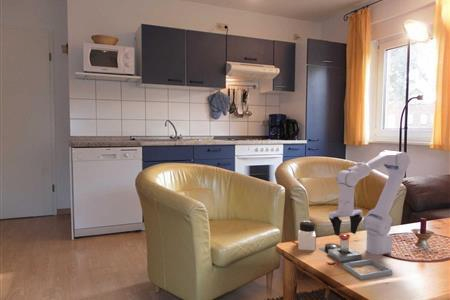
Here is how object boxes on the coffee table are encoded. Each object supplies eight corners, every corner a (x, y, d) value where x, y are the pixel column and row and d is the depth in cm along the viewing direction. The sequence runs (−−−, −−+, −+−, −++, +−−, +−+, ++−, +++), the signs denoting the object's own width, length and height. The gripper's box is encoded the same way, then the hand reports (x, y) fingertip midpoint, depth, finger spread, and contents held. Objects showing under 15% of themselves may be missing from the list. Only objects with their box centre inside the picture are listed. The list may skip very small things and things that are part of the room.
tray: (371, 265, 129) (372, 258, 129) (392, 276, 119) (392, 270, 119) (342, 269, 125) (342, 263, 125) (361, 282, 116) (361, 275, 115)
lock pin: (345, 253, 137) (345, 232, 136) (352, 257, 133) (351, 236, 132) (337, 255, 136) (336, 234, 135) (343, 259, 132) (343, 237, 131)
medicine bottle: (315, 252, 141) (316, 225, 140) (298, 251, 143) (298, 224, 142) (314, 246, 148) (315, 220, 147) (298, 245, 150) (298, 219, 149)
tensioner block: (338, 247, 147) (338, 241, 146) (363, 262, 131) (363, 255, 131) (318, 250, 144) (318, 243, 144) (341, 265, 129) (341, 258, 128)
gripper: (336, 204, 127) (335, 239, 128) (368, 201, 131) (367, 235, 132) (325, 200, 133) (325, 233, 135) (356, 197, 138) (355, 229, 139)
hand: (345, 234), depth 134 cm, fingers open, 7 cm apart
